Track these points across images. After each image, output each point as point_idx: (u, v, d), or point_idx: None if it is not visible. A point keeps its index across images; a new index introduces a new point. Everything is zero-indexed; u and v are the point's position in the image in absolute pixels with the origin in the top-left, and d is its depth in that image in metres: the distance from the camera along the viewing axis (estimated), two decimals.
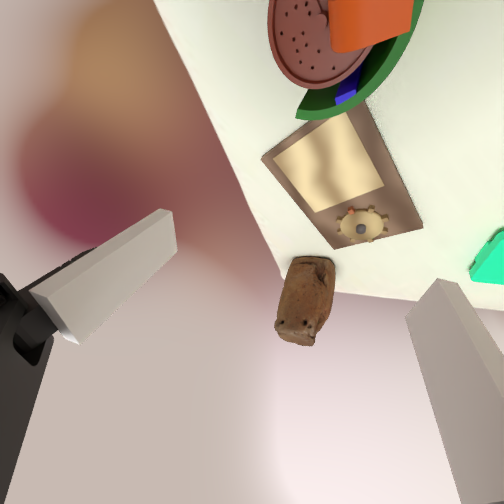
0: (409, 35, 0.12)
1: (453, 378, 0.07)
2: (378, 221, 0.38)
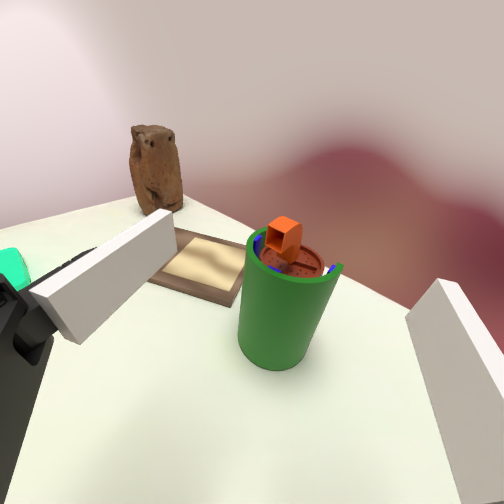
0: (252, 259, 0.21)
1: (452, 378, 0.07)
2: None
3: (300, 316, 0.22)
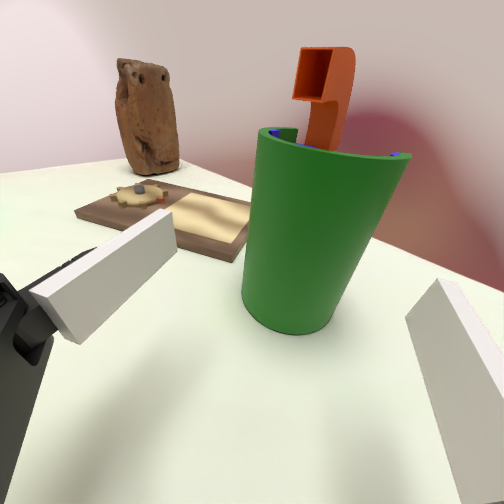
0: (269, 137, 0.13)
1: (452, 378, 0.07)
2: (127, 199, 0.34)
3: (342, 234, 0.14)
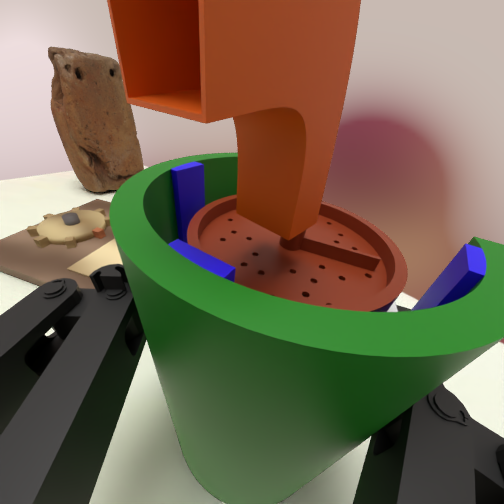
0: (115, 212, 0.05)
1: None
2: (49, 233, 0.26)
3: (326, 453, 0.05)
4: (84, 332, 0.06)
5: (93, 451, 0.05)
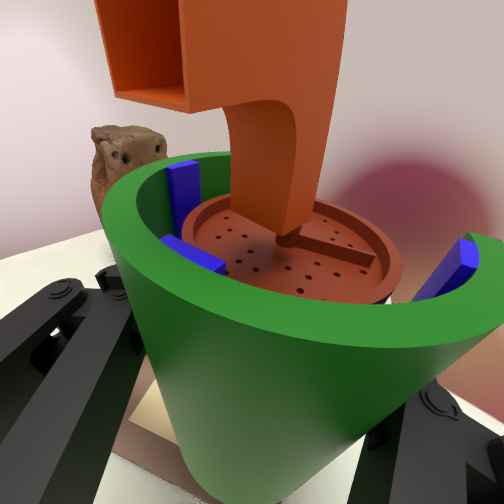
0: (107, 209, 0.05)
1: None
2: None
3: (321, 450, 0.05)
4: (89, 332, 0.06)
5: (97, 451, 0.05)
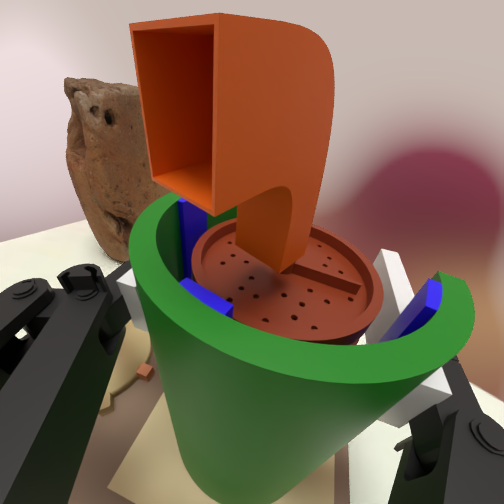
0: (133, 251, 0.06)
1: (381, 325, 0.09)
2: None
3: (309, 456, 0.06)
4: (54, 334, 0.06)
5: (69, 451, 0.05)
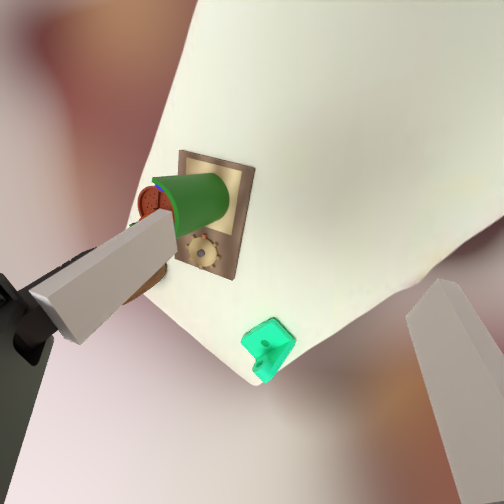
0: None
1: (453, 378, 0.07)
2: (213, 256, 0.49)
3: (196, 200, 0.33)
4: None
5: None
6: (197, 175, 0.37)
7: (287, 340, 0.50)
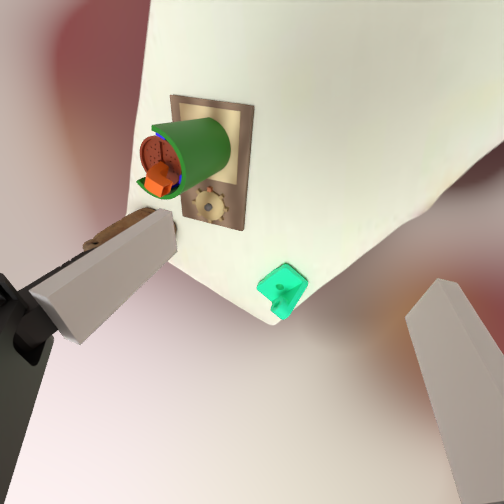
0: (178, 194, 0.33)
1: (453, 378, 0.07)
2: (221, 208, 0.49)
3: (198, 147, 0.32)
4: None
5: None
6: (195, 120, 0.35)
7: (300, 282, 0.54)
